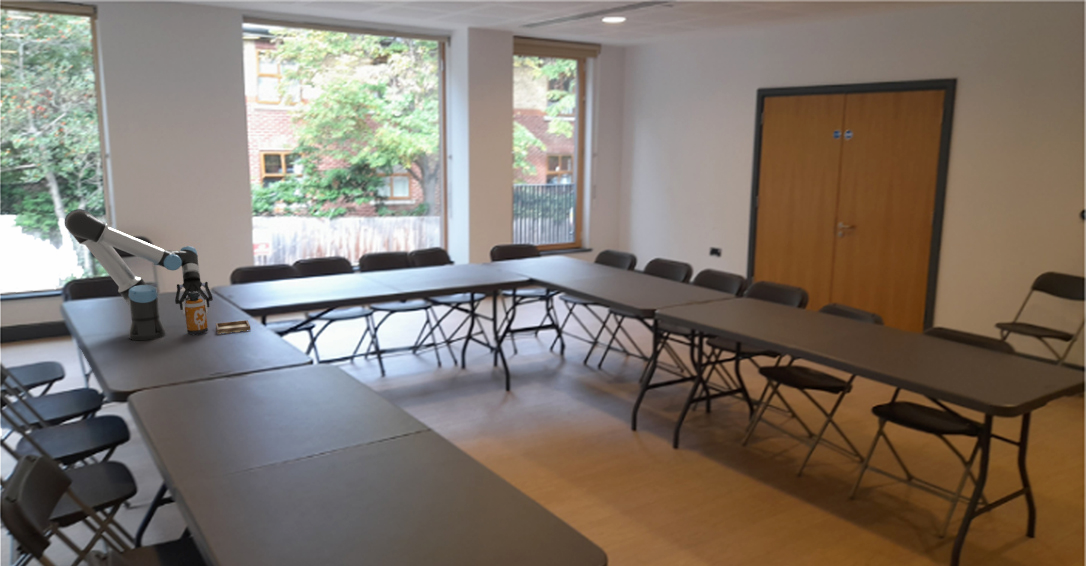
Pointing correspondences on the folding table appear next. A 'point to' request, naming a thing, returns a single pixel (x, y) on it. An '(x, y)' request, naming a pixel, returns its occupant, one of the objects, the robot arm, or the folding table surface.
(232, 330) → the wooden tray
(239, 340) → the folding table surface
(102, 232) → the robot arm
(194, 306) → the canister
